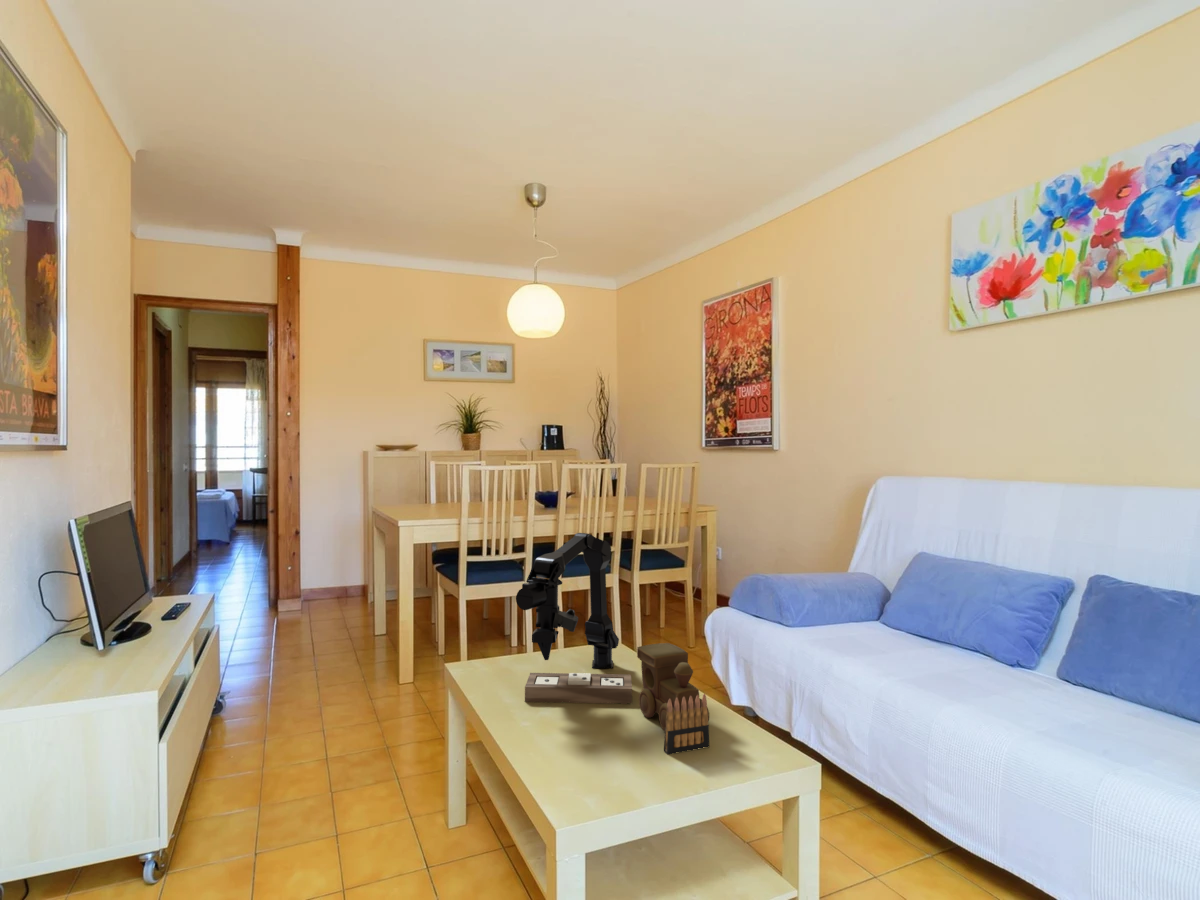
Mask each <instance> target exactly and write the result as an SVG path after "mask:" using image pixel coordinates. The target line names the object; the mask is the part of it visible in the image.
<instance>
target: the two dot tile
mask: <svg viewBox="0 0 1200 900" xmlns="http://www.w3.org/2000/svg"><path fill="white" fill-rule="evenodd" d="M568 673H569V677H568V685H591V674H592V673H591V672H588V673H587V672H585V673H584V672H568Z"/></svg>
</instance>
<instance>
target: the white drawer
mask: <svg viewBox="0 0 1200 900" xmlns="http://www.w3.org/2000/svg"><path fill="white" fill-rule="evenodd" d="M558 681H559V677H537V679H536V682H535V684H558Z"/></svg>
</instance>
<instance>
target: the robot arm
mask: <svg viewBox="0 0 1200 900" xmlns="http://www.w3.org/2000/svg"><path fill="white" fill-rule="evenodd" d="M581 553H582V555H583V561H584V563H585V564H586V566H587V568H588V569H589V595H590V596H589V597H590V616H589V617H588V620H587V621H585V623H584V628H585V631H584V634H585V638H586V643H587V645H588V646H593V660H592V664H591V668H592V669H613V668H614V660H613V650H614V649H617V648H618V646H619V644H620V643H619V642H620V641H619V640H620V639H619V637H618V636H617V634H616V633H615V631H614V625H613V621H612V620H611V617H610V616H609V615H608V610H607V606H608V605H607V603H608V602H607V601H608V600H607V581H606V580H607V577H606V574H607V573H606V568H607V566H608V565H609V563H610V561H611V554H612V546H611V544H610V543H609V542H608V541H606V540H603V539H600V538H597V537H595V536H594V535H592V534H591V533H587V532H577V533H574V535H573V537H572V538H571V539H569V540H567V541H566V542H565V543H564V544H563V545H561V546H560V547H559V548H557V549H556V550H555V551H553V552H549V553H544V554H542V555H540V556H538V557H536V558H535V560H534V563H533V565H532V567H531V569H530V571H529V574H528V575H527V576H528V577H527V579H526V582H525V583H522V584H521V588H520V589H519V590H518V591H517V593H516V595H515V602H516V605H517V606H518V607H519V609H521V610H522V611H528V610H532V609H535V613H536V621H535V628H536V629H534V631H533V632H532V634H531V643H534V644H537V645H538V648H539V649H540V652H541V655H542V657H543V660H544V661H549V659H550V655H551V650H552V645H553V644H555V643H556V642H557V639H558V635H559V631H558V630H556V629H558V628H563V629H565V630H568V631H569V632H570V633H573V632H575V630H576V627H577V625H578V621H579V617H578V616H577V615H576V612H575V610H574V609H572V608H569V609H568V610H567V611H565V610H564V611H562V610H560V605H559V603H558V602H559V586H561V585H563V581H562V580H561V579H560V577H561V576H562V574H564V573H565V570H566V566H567V565H568V564H569V563H570V562H571V561H572V560H573V559H575V558H576V557H578V555H580V554H581Z"/></svg>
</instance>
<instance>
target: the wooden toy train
mask: <svg viewBox="0 0 1200 900" xmlns="http://www.w3.org/2000/svg"><path fill="white" fill-rule="evenodd" d="M636 650H637V651H636V652H637V653H636V655H637V656H636V657H637V658H638V659H639V660H640V661H641V666H640V667H641V679H642V681H641V682H642V686H643V688H641V691H640V693H639V695H638V705H639V709H640V711H641V713H642V715H643V716H644V717H646V718H649V719H650V718H653V717H654V716H655V714H658V720H659V724H660V728H661V729H662V731H663V732H665V728H666V716H667V705H668V700H669V699H671V702H672V712H673V715H674V705H675V700H676V698H678V701H679V710H680V714H681V704H682V699H683V697H685V699H686V706H687V713H688V702H689V698H690V696H692V699H693V708H694V711H695V700H696V696H697V695H698V696H699V699H700V711H701V706H702V698H700V691H699V689H698V688H697V687H696V686H694V685H693V684H691V683H690V681H691V679H692V677H693V674H694V670H693V668H692V667H691V664H690V663H689V653H688V652H687V651H686V650H685V649H683V648H681V647H679V646H678V645H675V644H672V643H670V642H665V643H663V642H661V643H660V642H659V643H651V644H646V645H641V646H637V649H636ZM709 711H710V710H709V707H708V706H707V712H708V723H709V721H710V712H709Z"/></svg>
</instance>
